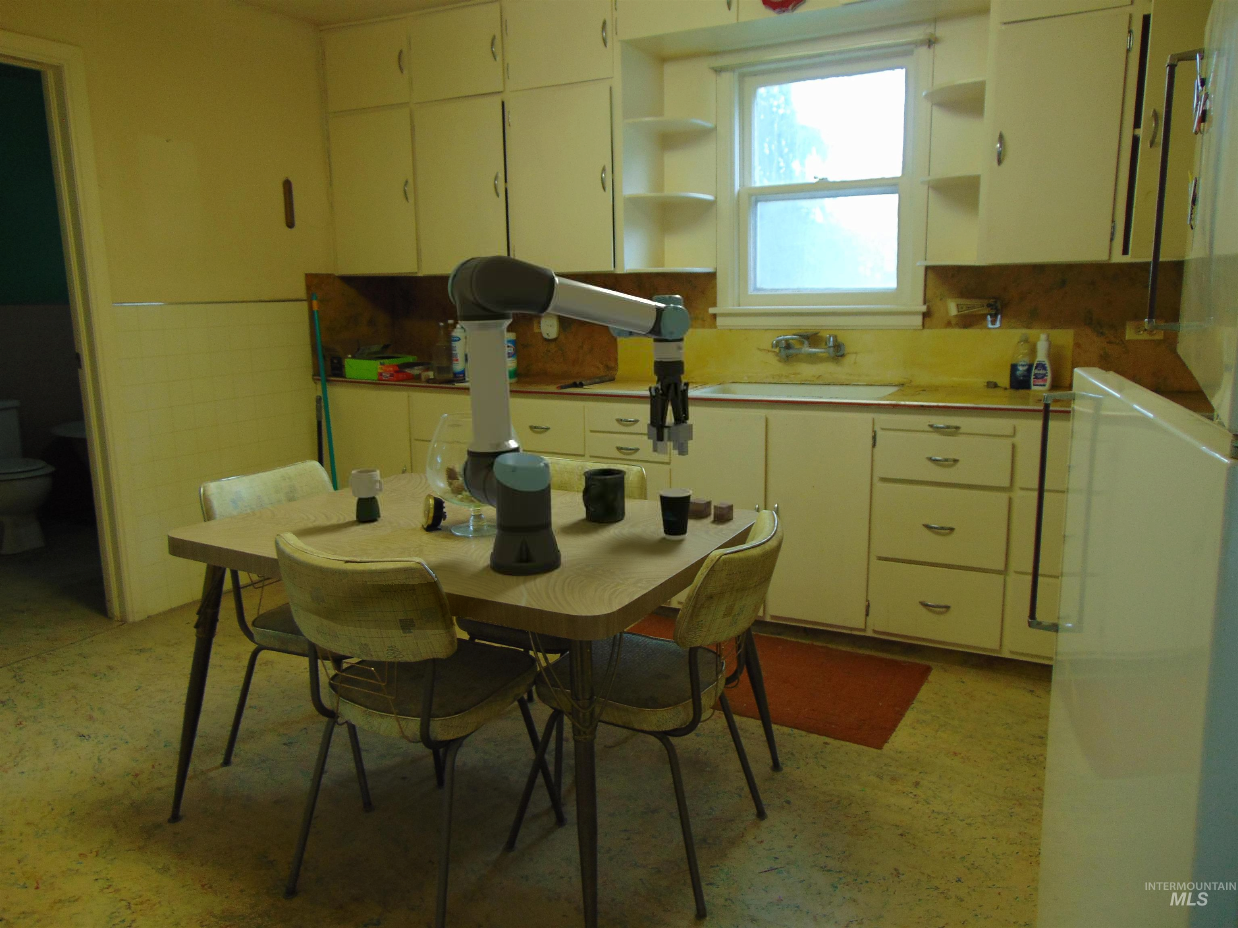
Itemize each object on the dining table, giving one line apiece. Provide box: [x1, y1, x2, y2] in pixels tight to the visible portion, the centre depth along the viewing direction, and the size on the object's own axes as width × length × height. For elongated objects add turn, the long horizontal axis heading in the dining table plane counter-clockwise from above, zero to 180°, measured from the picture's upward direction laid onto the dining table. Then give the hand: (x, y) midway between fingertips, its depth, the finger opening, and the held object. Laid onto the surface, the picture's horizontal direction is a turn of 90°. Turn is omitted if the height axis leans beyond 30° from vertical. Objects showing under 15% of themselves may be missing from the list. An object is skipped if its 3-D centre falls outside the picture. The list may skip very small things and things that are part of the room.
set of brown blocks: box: [689, 497, 734, 522], centre depth 231 cm, size 4×18×4 cm, turn 49°
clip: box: [646, 420, 694, 456], centre depth 223 cm, size 10×6×8 cm, turn 49°
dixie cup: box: [657, 487, 693, 541], centre depth 210 cm, size 8×8×11 cm
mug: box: [581, 467, 627, 523], centre depth 227 cm, size 11×15×12 cm
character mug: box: [348, 468, 384, 522], centre depth 231 cm, size 11×7×13 cm, turn 64°
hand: (670, 451), depth 224 cm, fingers closed on clip, 5 cm apart
